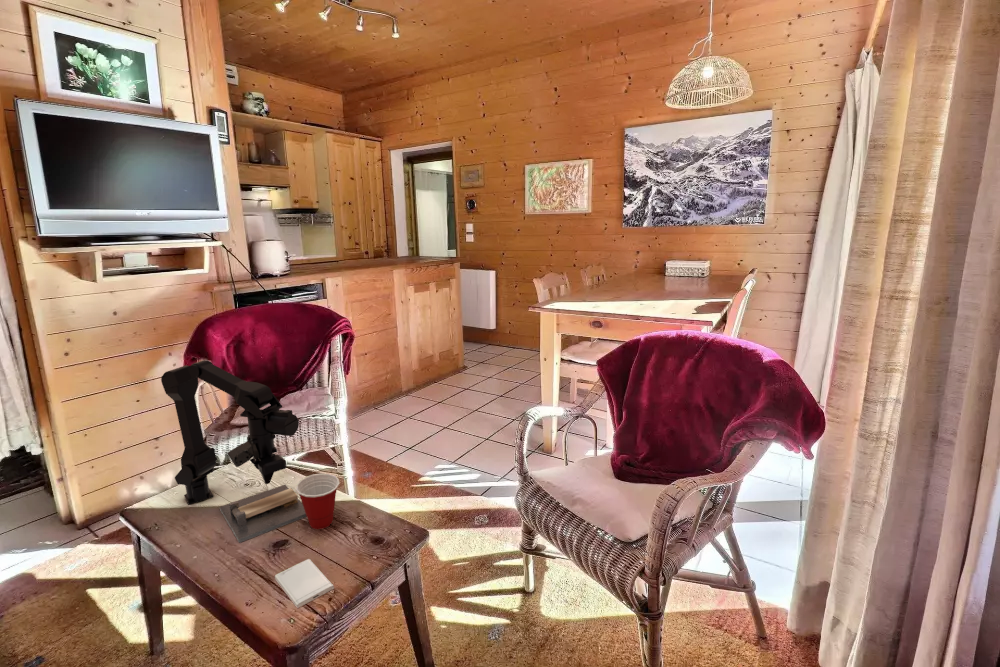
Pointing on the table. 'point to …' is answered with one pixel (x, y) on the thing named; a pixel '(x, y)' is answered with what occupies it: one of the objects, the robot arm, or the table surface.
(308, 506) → the plastic cup
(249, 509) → the lever
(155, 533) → the table surface
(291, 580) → the hard drive
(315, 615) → the table surface
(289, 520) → the mounting plate
